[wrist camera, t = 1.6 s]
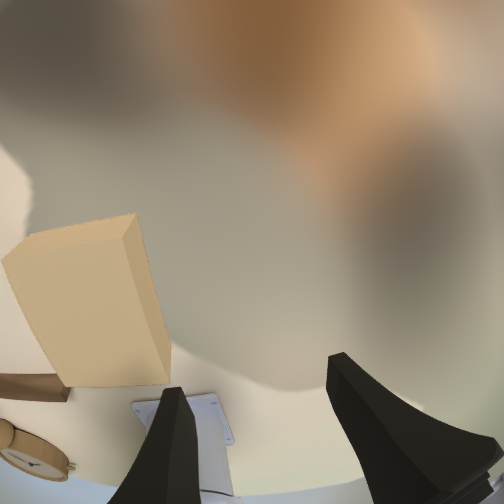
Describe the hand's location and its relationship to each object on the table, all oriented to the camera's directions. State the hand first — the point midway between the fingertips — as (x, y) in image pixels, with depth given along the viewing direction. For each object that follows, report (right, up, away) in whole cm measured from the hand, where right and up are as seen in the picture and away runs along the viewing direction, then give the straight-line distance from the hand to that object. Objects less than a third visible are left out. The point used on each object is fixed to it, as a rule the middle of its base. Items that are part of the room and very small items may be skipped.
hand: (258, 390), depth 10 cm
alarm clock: (-32, -21, +15) cm, 40 cm away
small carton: (-10, +2, +8) cm, 13 cm away
